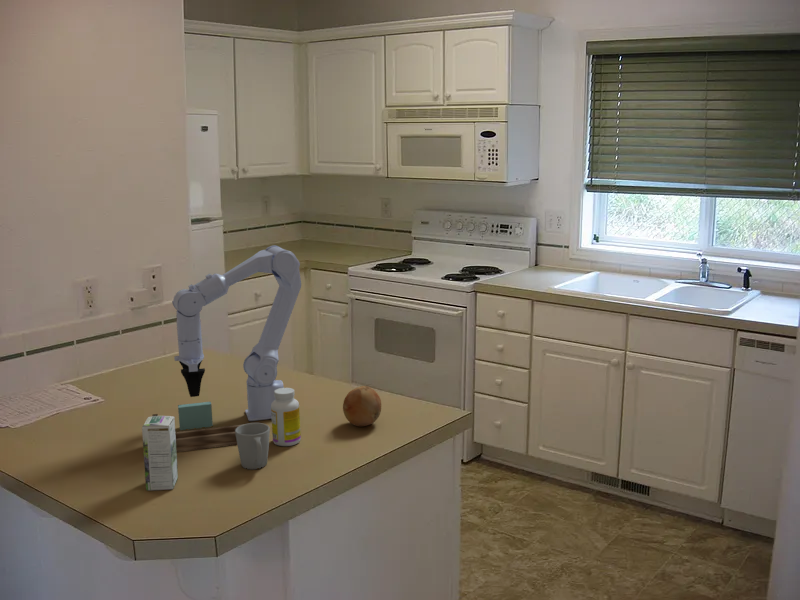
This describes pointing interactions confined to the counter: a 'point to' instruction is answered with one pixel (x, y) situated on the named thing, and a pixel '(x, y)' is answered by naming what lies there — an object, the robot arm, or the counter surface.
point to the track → (205, 438)
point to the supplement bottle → (285, 418)
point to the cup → (253, 444)
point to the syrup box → (160, 453)
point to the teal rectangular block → (195, 415)
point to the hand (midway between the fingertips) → (193, 391)
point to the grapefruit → (362, 406)
